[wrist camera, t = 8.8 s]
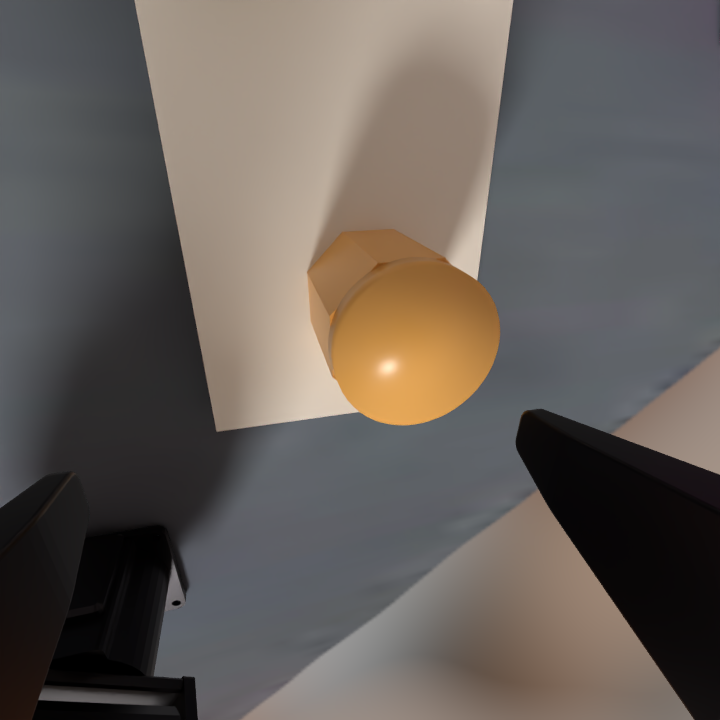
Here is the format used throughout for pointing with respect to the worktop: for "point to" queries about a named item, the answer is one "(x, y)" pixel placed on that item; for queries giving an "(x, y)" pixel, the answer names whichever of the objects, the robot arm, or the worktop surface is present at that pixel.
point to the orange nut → (400, 326)
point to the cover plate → (314, 163)
